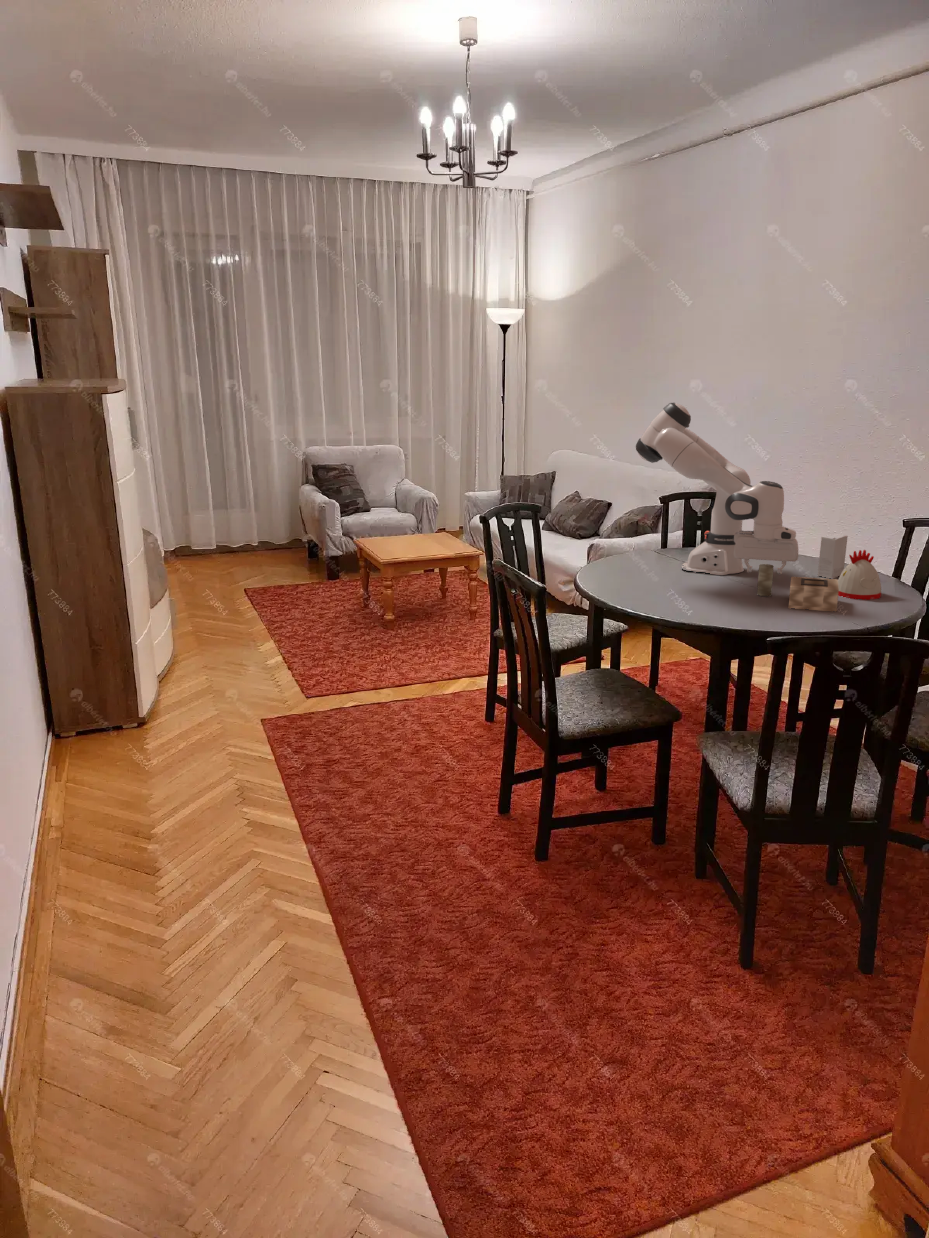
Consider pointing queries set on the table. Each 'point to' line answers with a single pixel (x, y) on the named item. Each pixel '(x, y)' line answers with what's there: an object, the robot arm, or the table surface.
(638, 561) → the table surface
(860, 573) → the kitchen timer
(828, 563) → the skincare box
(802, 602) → the birch holder
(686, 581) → the table surface
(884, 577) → the table surface
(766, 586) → the peg
